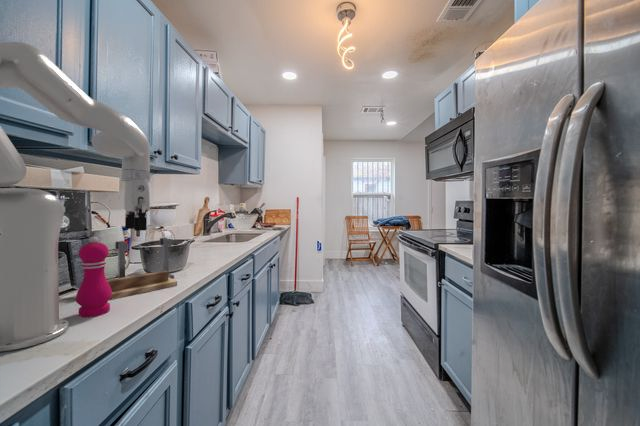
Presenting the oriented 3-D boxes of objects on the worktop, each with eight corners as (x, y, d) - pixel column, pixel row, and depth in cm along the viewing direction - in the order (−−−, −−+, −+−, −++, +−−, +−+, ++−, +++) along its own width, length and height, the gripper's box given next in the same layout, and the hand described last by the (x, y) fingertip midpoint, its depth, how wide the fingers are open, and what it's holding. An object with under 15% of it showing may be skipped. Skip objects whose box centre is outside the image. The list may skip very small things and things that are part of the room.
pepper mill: (119, 308, 74) (118, 235, 73) (94, 319, 66) (93, 238, 66) (95, 306, 74) (94, 234, 74) (68, 317, 67) (66, 238, 67)
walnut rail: (104, 292, 81) (104, 282, 81) (102, 291, 83) (102, 280, 83) (168, 280, 95) (168, 271, 95) (165, 279, 97) (165, 270, 97)
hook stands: (117, 288, 90) (116, 243, 90) (112, 285, 94) (112, 241, 93) (174, 278, 104) (174, 238, 103) (168, 275, 108) (168, 237, 107)
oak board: (97, 302, 78) (97, 297, 78) (91, 295, 83) (91, 290, 83) (177, 285, 94) (177, 281, 94) (168, 281, 100) (168, 277, 100)
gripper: (158, 176, 85) (158, 230, 85) (140, 179, 96) (140, 227, 96) (130, 173, 79) (129, 231, 79) (115, 177, 90) (114, 228, 90)
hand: (135, 229), depth 88 cm, fingers open, 9 cm apart
